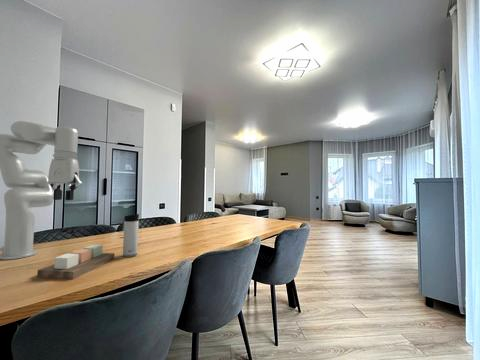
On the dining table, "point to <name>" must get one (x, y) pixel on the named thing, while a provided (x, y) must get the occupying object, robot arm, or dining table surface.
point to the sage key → (95, 250)
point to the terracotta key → (83, 255)
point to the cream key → (66, 261)
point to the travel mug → (130, 235)
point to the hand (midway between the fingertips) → (63, 199)
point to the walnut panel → (75, 268)
